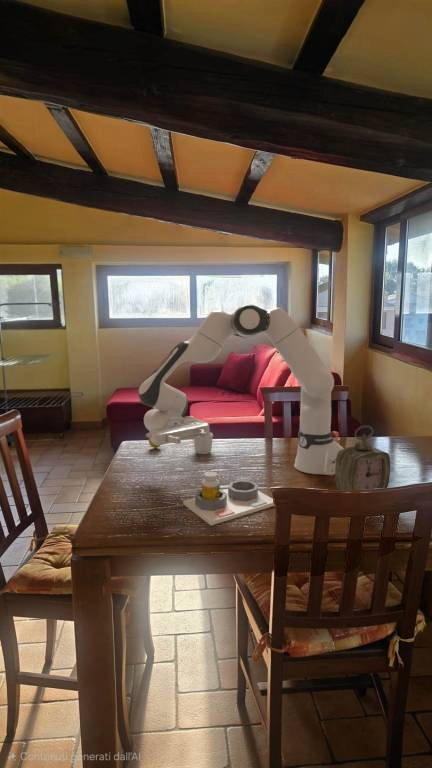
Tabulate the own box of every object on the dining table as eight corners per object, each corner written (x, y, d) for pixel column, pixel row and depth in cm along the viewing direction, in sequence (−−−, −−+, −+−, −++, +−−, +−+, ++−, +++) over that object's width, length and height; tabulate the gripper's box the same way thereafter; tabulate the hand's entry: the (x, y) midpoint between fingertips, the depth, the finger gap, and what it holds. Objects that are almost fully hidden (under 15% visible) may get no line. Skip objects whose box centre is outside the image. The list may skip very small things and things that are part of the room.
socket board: (246, 487, 157) (246, 475, 156) (277, 504, 143) (277, 492, 143) (183, 504, 144) (183, 491, 143) (211, 525, 131) (210, 511, 130)
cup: (196, 447, 198) (196, 428, 197) (215, 447, 197) (215, 429, 196) (191, 455, 188) (191, 436, 186) (211, 456, 187) (211, 437, 185)
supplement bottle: (204, 499, 145) (204, 469, 143) (221, 500, 144) (221, 471, 142) (200, 506, 140) (199, 476, 138) (217, 508, 138) (217, 477, 137)
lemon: (164, 450, 194) (163, 427, 192) (150, 451, 192) (149, 428, 190) (161, 445, 200) (160, 423, 198) (147, 446, 198) (147, 424, 197)
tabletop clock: (349, 514, 137) (354, 432, 133) (330, 501, 146) (334, 424, 141) (387, 505, 143) (393, 426, 138) (367, 493, 151) (372, 419, 147)
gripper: (143, 425, 153) (161, 434, 142) (196, 415, 164) (218, 423, 153) (144, 443, 155) (162, 454, 143) (197, 432, 165) (218, 441, 154)
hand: (191, 438), depth 148 cm, fingers open, 8 cm apart
